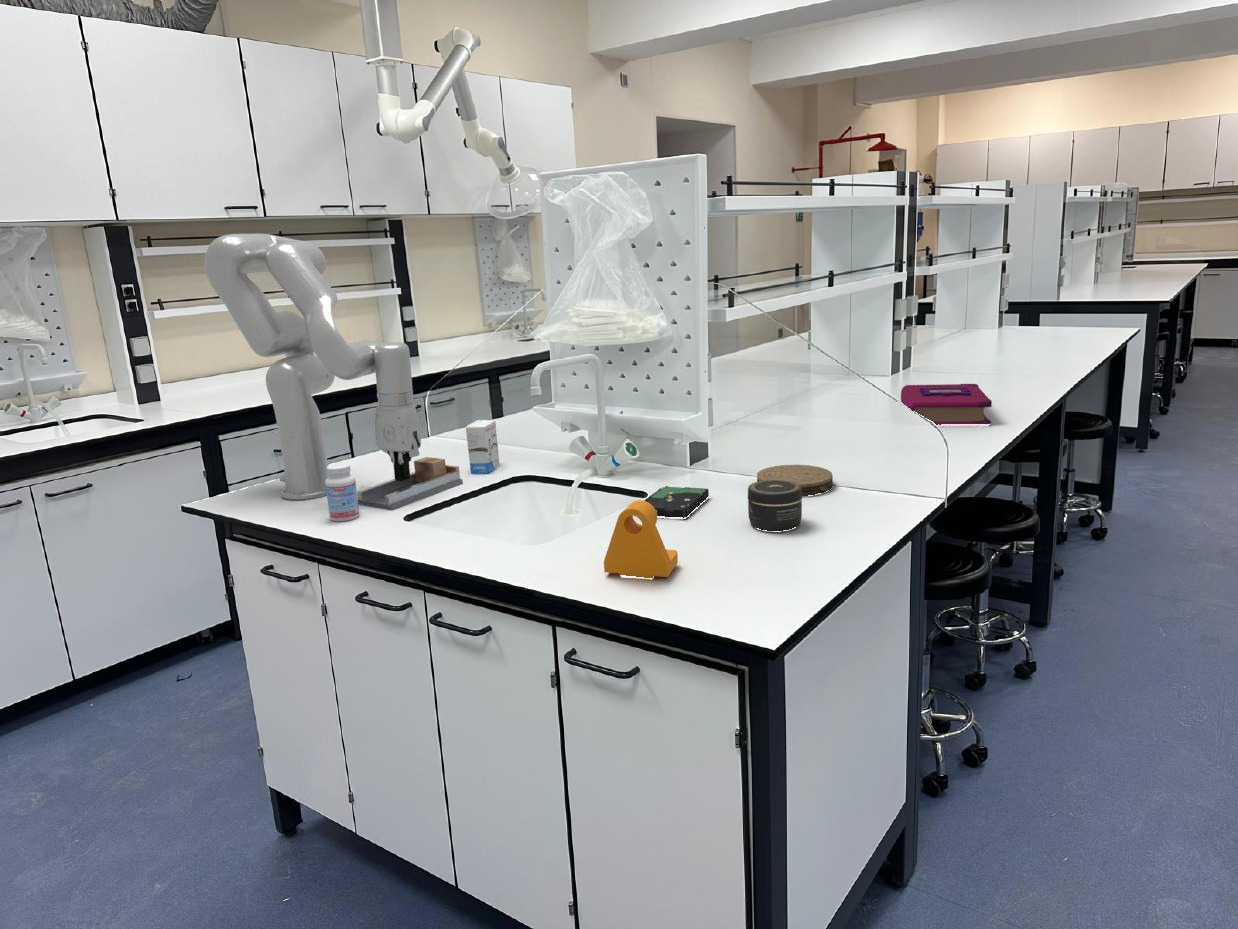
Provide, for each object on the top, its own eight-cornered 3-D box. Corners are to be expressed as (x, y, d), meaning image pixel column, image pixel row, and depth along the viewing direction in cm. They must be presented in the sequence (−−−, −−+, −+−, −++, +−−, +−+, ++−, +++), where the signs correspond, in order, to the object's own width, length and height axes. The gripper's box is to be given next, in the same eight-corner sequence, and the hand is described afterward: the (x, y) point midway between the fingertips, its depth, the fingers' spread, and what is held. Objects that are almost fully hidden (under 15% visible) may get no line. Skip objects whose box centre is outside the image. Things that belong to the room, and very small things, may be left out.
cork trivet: (764, 500, 178) (763, 486, 177) (751, 479, 193) (751, 467, 192) (841, 496, 178) (841, 482, 177) (822, 475, 193) (822, 462, 193)
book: (907, 428, 233) (908, 400, 231) (900, 407, 259) (901, 382, 257) (991, 428, 228) (993, 399, 226) (975, 407, 254) (976, 381, 252)
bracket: (679, 565, 145) (676, 497, 142) (667, 581, 139) (664, 510, 136) (618, 561, 149) (614, 494, 146) (604, 576, 142) (600, 507, 139)
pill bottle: (329, 523, 178) (321, 471, 175) (330, 515, 184) (323, 464, 181) (360, 519, 179) (352, 467, 177) (360, 511, 185) (353, 460, 182)
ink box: (488, 474, 209) (484, 426, 206) (469, 474, 210) (464, 426, 207) (500, 464, 218) (496, 419, 215) (481, 464, 219) (477, 419, 216)
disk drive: (686, 523, 168) (709, 500, 181) (685, 509, 167) (709, 487, 180) (636, 519, 172) (663, 497, 185) (636, 505, 171) (662, 484, 184)
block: (416, 481, 201) (413, 461, 200) (428, 477, 205) (426, 456, 203) (435, 484, 198) (432, 463, 197) (447, 480, 202) (444, 459, 200)
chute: (357, 504, 191) (355, 486, 190) (428, 478, 208) (426, 462, 207) (392, 510, 185) (390, 492, 184) (462, 483, 202) (461, 466, 201)
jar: (738, 522, 165) (737, 483, 163) (784, 513, 168) (784, 476, 166) (765, 537, 156) (764, 497, 154) (812, 528, 159) (812, 488, 157)
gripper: (359, 399, 191) (366, 479, 196) (407, 405, 183) (414, 488, 188) (384, 393, 197) (391, 471, 202) (432, 399, 189) (438, 479, 194)
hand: (402, 479), depth 195 cm, fingers closed
